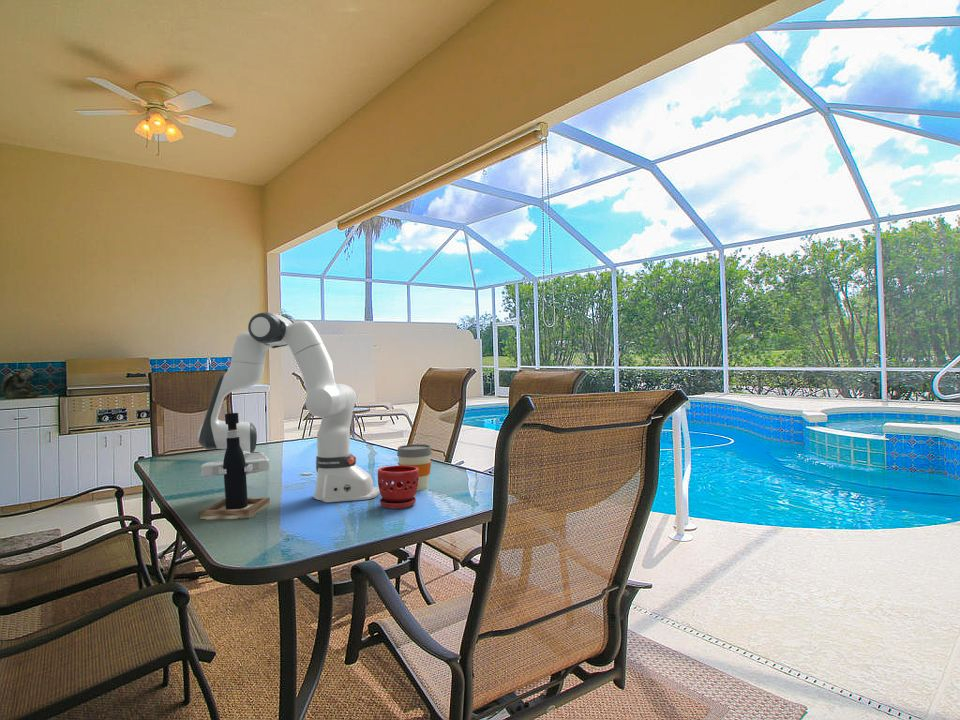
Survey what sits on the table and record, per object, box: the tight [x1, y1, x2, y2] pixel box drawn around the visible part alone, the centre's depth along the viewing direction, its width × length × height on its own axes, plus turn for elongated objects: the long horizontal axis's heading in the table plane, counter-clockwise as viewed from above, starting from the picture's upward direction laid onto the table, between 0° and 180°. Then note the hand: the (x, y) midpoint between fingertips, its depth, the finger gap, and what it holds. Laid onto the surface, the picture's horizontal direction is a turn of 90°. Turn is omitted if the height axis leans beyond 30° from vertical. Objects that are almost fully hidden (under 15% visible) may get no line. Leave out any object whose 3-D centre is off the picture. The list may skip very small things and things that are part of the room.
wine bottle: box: [223, 412, 248, 509], centre depth 168 cm, size 6×6×30 cm
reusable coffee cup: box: [396, 443, 433, 492], centre depth 192 cm, size 13×13×15 cm
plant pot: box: [377, 465, 419, 510], centre depth 169 cm, size 13×13×12 cm
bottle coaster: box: [199, 497, 271, 520], centre depth 166 cm, size 15×15×2 cm
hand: (235, 470), depth 165 cm, fingers closed on wine bottle, 5 cm apart
